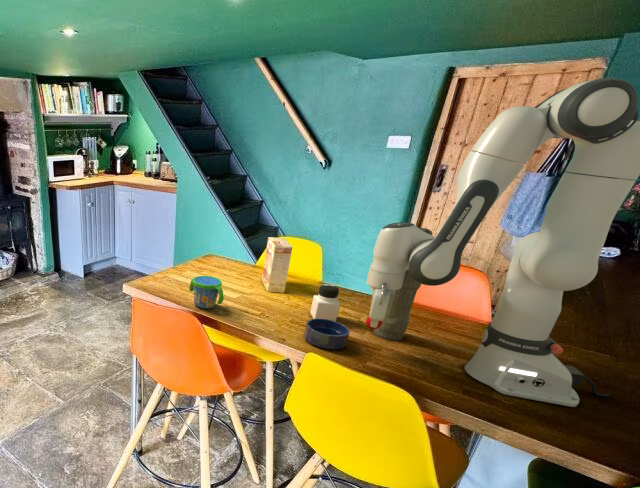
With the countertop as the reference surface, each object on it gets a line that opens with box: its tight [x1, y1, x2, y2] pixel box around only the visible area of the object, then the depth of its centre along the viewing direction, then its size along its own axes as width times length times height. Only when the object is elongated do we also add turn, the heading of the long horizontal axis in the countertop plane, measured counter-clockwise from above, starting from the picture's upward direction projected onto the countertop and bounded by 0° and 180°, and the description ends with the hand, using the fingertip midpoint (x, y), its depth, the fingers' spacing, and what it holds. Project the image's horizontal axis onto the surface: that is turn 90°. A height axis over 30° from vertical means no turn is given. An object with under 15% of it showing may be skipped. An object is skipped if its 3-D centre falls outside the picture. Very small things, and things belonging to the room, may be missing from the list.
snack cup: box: [188, 275, 224, 310], centre depth 149 cm, size 16×10×10 cm
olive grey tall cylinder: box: [372, 226, 433, 342], centre depth 125 cm, size 9×12×35 cm
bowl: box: [303, 318, 351, 350], centre depth 126 cm, size 12×12×5 cm
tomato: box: [365, 316, 382, 330], centre depth 120 cm, size 4×4×4 cm
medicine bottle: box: [309, 283, 341, 322], centre depth 141 cm, size 7×7×12 cm
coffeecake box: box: [261, 236, 293, 293], centre depth 168 cm, size 15×7×20 cm, turn 172°
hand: (373, 323), depth 120 cm, fingers closed on tomato, 4 cm apart
